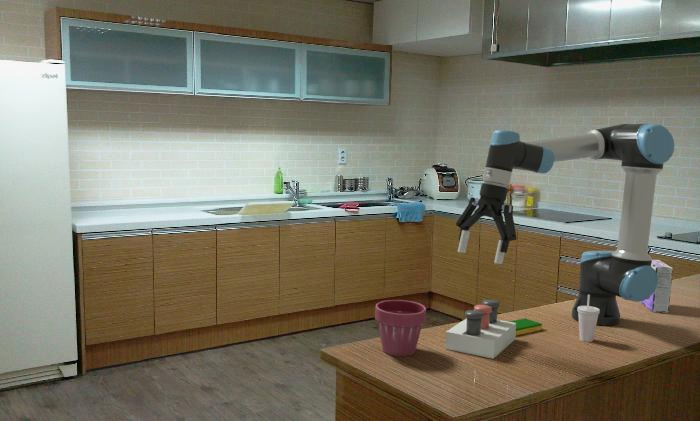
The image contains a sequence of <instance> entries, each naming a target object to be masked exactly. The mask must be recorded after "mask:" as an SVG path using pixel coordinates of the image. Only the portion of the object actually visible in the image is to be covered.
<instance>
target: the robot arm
mask: <svg viewBox="0 0 700 421" xmlns="http://www.w3.org/2000/svg"><path fill="white" fill-rule="evenodd" d="M520 138H521V134H520V133H518V132H516V131H513V130H507V129H495V130H494V131H493V133H492V136H491V139H490V143H489V148H488V153H487V157H486V163H485V168H484V171H483V176H482V181H483V182H482V184H480V190H479V198H476V197H473V196H472V197H470V199H469V202H468V204H467V206H466V207H465V209H464V210H463V212H462V213H461V215H460V216H459V218H458V220H457V221H456V223H455V225H456V226H457V227H458V228H459V230H460V231H459V236H458V241H459V244H458V248H457V253H463V254H466V252H467V247H468V243H469V239H470V235H471V231H470V229H471V228H472V227H473V226H474V225H475V223H477V222H478V221H479V220H480V219H481V218H482V217H488V218H491V219H492V220H494V223H495V226H496V228H497V230H498V232H499V235H500V239H499V240H498V243H497V246H496V247H497V248H496V251H495V252H496V253H495V257H494V261H493V263H494V264H499V265H502V264H503V262H504V258H505V254H506V253H508V248H509V245H510V242H511V241H516V240H518V239H517V232H516V228H515V227H516V226H515V221H514V215H513V212H514V206H513V205H511V204H505V201H506V200H507V197H508V193H509V188H508V187H509V186H510V184H511V179H512V175H513V174H512V173H513V170H519V171H520V170H521V171H528V172H533V173H535V174H537V173H538V174H547V173H548V172H550V171H551V169H553V166H554V164H555V163H556V162H564V161H571V160H579V159H587V158H589V159H591V160H593V161H594V160H596V161H597V160H614V161H620V162H621V165H620V166H621V169H622V170H623V171H624V172H625V178H624V185H623V186H624V187H623V195H622V205H621V214H620V221H619V232H618V239H617V240H618V241H617V248H616V249H615V250H587V251H584V252H582V254H581V258H580V263H579V265H580V268H579V284H578V294H577V296H576V299H575V302H574V305H573V306H572V309H571V318H573V320H576V321H578V322H579V317H578V311H577V307H579V306H587V300H588V294H589V295H590V300H589V306H592V307H596V308H598V309H600V313H599V314H598V319H597V324H596V326H614V325H618V324H619V323H621V313H620V309H619V305H618V301H617V297H619V298H622V299H623V300H625V301H631V302H636V303H637V302H638V303H639V302H640V303H641V301H643V300H646V299H647V298H649V296H650V295H652V294H653V293H654V291H655V290H656V288H657V285H658V274H657V273H656V271H655V269H653V268H652V267H651V264H652V260H653V258H652V256H650V254H649V253H648V249H649V241H650V233H651V224H652V217H653V216H652V215H653V209H654V200H655V191H656V190H655V189H656V181H657V175H658V174H659V173H661V171H663V170H664V164H665V163H667V162H668V161H669V160H670V158H672V156H673V154H674V152H675V141H674V140H675V139H674V137H673V135H672V132H670V131H669V129H668V128H666V126H664V125H661V124H656V123H622V124H615V125H611V126H608V127H607V126H606V127H601V128H597V129H595V128H594V129H591V130H588V132H587V133H583V134H582V133H581V134H574V135H566V136H565V135H564V136H558V137H557V136H556V137H550V138H542V139H534V140H533V139H532V140H526V141H521V140H520ZM502 212H503V213H502Z"/></svg>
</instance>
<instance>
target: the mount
mask: <svg viewBox="0 0 700 421" xmlns="http://www.w3.org/2000/svg"><path fill="white" fill-rule="evenodd" d="M466 325H467V318H466V317H465V319H463V320H462V321H460V322H458V323H457V324H455V325H454V326H452V327H451V328H450V329H449V328H448V330H446V331H445V346H444V348H445V350H449V351H454V352H458V353H463V354H469V355H474V356H478V357H482V358H483V357H484V358H487V359H492V360H493V359H495V358H496V357H497V356H498V355H499V354H501V353H502V352H503V351H504V350H505V349H506V348H508V346H510V345H511V344H512V343H513V342H514V341H515V340H516V336H515V334H516V323H513V322H509V321H508V320H507V321H506V320H502V319H501V320H500V319H497V323H489V329H481V334H480V335H478V336H472V335H468V334H466Z"/></svg>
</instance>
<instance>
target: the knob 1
mask: <svg viewBox="0 0 700 421" xmlns="http://www.w3.org/2000/svg"><path fill="white" fill-rule="evenodd" d="M464 312H465V313H464V317H465V319H466V318H467V325H466V334H468V335H472V336H478V335H480V334H481V319H482V318H483V314H484V313H483V312H481V311H477V310H474V309H471V310H470V309H468V310H465V311H464Z"/></svg>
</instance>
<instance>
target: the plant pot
mask: <svg viewBox="0 0 700 421" xmlns="http://www.w3.org/2000/svg"><path fill="white" fill-rule="evenodd" d="M374 308H375V310H374V319H375V321H377V323H378V330H379V336H380V342H381V348H382V352H384V353H385V354H386V355H390V356H393V355H394V356H395V357H407V356H406V355H409V356H412V355H414V354H415V353H416V351H417V350H416V349H417V346H418V343H419V338H420V335H421V330H422V327H423V324H425V323H426V319H427V308H426V306H425V305H423V304H422V303H419V302H415V301H411V300H403V299H389V300H382V301H379V302H377V303H376V304H375V307H374ZM413 353H414V354H413ZM411 354H412V355H411Z"/></svg>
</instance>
